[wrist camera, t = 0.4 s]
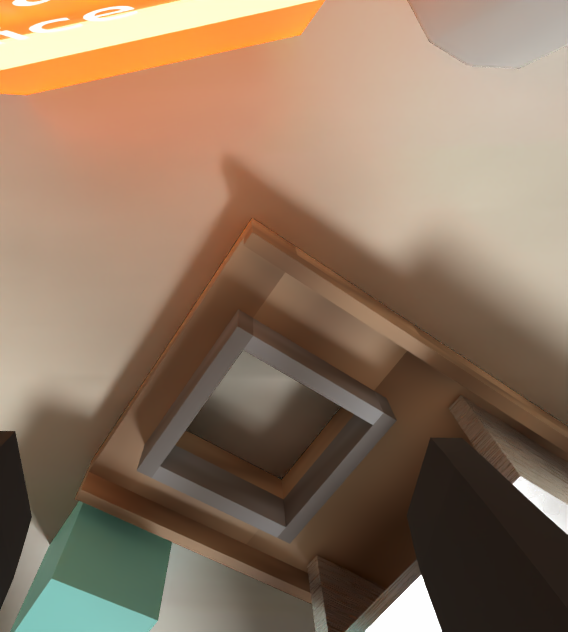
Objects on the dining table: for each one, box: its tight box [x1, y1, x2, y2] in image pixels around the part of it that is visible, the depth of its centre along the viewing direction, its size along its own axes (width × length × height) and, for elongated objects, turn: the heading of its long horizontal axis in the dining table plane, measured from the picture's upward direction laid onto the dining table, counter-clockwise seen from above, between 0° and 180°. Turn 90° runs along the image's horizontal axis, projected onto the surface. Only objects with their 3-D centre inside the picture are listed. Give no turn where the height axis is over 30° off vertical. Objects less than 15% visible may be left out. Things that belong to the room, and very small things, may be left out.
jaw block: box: [10, 501, 172, 632], centre depth 20 cm, size 4×4×5 cm
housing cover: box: [307, 395, 568, 632], centre depth 20 cm, size 9×10×5 cm
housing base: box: [75, 218, 568, 604], centre depth 21 cm, size 19×12×3 cm, turn 56°
